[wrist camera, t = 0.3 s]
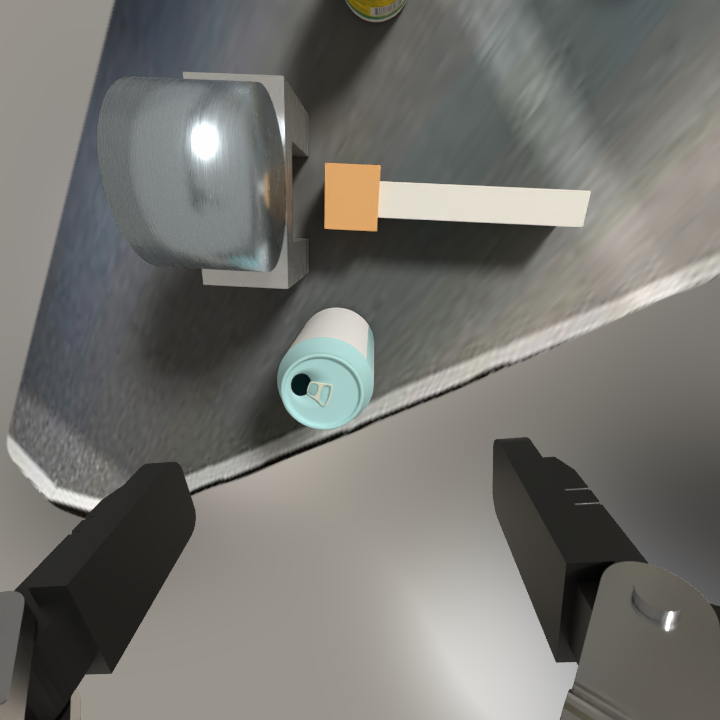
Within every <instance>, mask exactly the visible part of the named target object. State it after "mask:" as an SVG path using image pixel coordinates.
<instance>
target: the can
mask: <svg viewBox="0 0 720 720" xmlns="http://www.w3.org/2000/svg"><path fill="white" fill-rule="evenodd" d="M277 384H278V390H279V394H280V396H281V399H282V401H283V404H284V406H285V408H286V410H287V411H288V412H289V414H290V415H291V416H292V417H293V418H294V419H295V420H297V421H298V422H300V423H301V424H303V425H305V426H307V427H310V428H314V429H319V430H330V429H335V428H339V427H341V426H344V425H345V424H347V423H349V422H350V421H351V420H353V419H355V418H356V417H357V416H358V415H360V414H361V413H362V412H363V410H364V409H365V408H366V406H367V405H368V403H369V401H370V399H371V396H372V393H373V386H374V338H373V334H372V331H371V329H370V327H369V325H368V324H367V322H366V321H365V320H364V319H363V318H362V317H361V316H360V315H358V314H357V313H355V312H353V311H351V310H348V309H344V308H329V309H325V310H322V311H320V312H318V313H316V314H315V315H314V316H313V317H311V318H310V319H309V321H308V322H307V323H306V325H305V326H304V328H303V329H302V331H301V332H300V334H299V335H298V337H297V338H296V340H295V341H294V343H293V344H292V346H291V347H290V349H289V350H288V352H287V353H286V355H285V356H284V358H283V359H282V361H281V363H280V366H279V369H278V374H277Z"/></svg>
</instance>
